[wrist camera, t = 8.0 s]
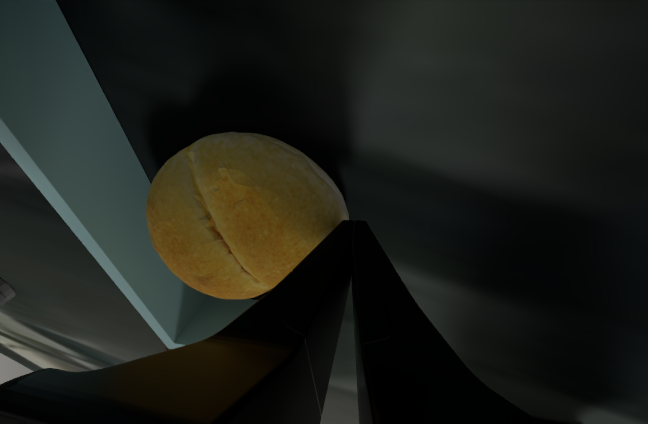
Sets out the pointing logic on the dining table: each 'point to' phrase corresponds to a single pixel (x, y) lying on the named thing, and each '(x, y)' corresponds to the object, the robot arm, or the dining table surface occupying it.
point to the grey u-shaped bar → (91, 169)
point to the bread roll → (239, 213)
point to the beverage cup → (5, 292)
